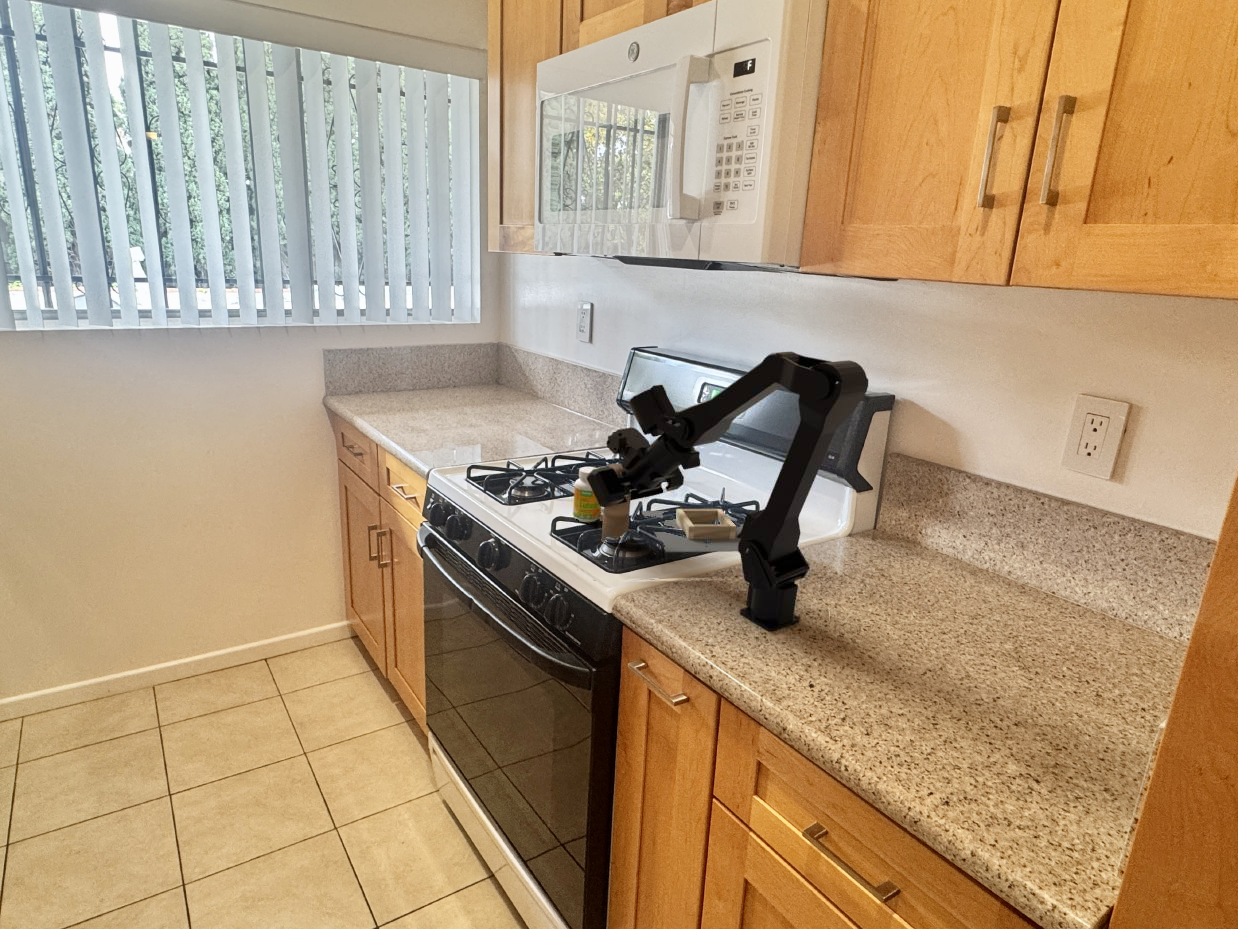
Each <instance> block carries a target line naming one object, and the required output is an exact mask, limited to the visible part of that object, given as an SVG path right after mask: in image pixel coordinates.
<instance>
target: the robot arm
mask: <svg viewBox="0 0 1238 929" xmlns="http://www.w3.org/2000/svg"><path fill="white" fill-rule="evenodd" d="M781 387H783V388H785V389H786V390H787V391H789V392H792V393H794V394H798V400H797V404H798V410H799V417H800V418H799V424H798V426H797V428H796V430H795V433H794V435H793V438H792V440H791V443H790V446H789V448H788V451H787V453H786V456H785V458H784V461H783V464H782V465H781V468H780V471H779V473H778V475H777V478H776V480H775V483H774V486H773V487H772V490H771V493H770V496H769V498H768V500H767V502H766V506H765V507H764V509H760V510H757V511H754V512H750V513H747V514H746V515H745V518H744V524H743V528H742V530H741V532H740V533H739V534H738V535H737V538H741V539H740V541H739V544H738V551H737V552H738V553H739V554H740V561H741V566H742V572H743V573H742V574H743V577H744V581H745V582H746V583H748V589H747V596H746V603H745V606H746V607H743V608H741V609H740V610H739V614H740V615H741V616H744V617H745V618H747V619H748V620H750V621H752V622H754V623H755V624H757V625H758V626H760V627H762V628H763V629H765V630H767V631H769V632H774V631H777V630H779V629H782V628H785V627H788V626H791V625H793V624H797V623H799V622H800V621H801V618H800V617H799V616H798V615H796V614H795V608H796V602H797V596H798V590H799V585H798V584H797V583H796V582H795V581H799V580H800V579H805V578H806V576H807V574H808V572H809V571H810V570H811V569H810V565H809V563H808V562H807V560H806V558H805V556H804V554H803V552H802V551H801V549H800V548H799V546H798V545H799V542H800V538H801V537H800V536H801V527H800V520H799V518H800V515H801V512H802V510H803V507H804V505H805V503H806V500H807V498H808V496H809V494H810V491H811V489H812V486H813V484H814V482H815V479H816V477H817V475H818V474H819V473H818V472H819V469H820V468H821V466H822V462H823V461H824V459H825V456H826V454H827V452H828V448H829V446H830V444H831V442H832V440H833V438H834V435H835V433H836V432H837V430H838V429H839V428H840V426H841V425H842V424H843V423H844V422H845V421H846V420H847V419H848V418H849V417H850V416H851V415H852V414H853V413H854V412H855V411H856V409H857V407H858V406H859V404H860V402H861V401H862V400H863V398H864V396H866V393H867V391H868V388H869V378H868V377H867V374H866V371H865V369H864V368H863V367H862V366H861V365H860V364H859V363H857V362H856V361H854V360H853V361H852V360H850V359H849V360H838V361H837V360H836V361H831V360H826V359H822V358H815V357H811V356H810V357H809V356H805V355H803V354H799V353H796V352H794V351H781V352H771V353H769V354H767V356H765V357H764V359H763V360H762V361H761V362H759V364H757V365H756V366H754V367H753V368H751V369H750V370H749V371H747V372H746V373H745V374H743V375H742V376H740V377H739V378H738V379H736V380H735V381H734V382H732V383H731V384H729V385H728V386H727V387H725V388H724V389H723V390H722V391H720V392H719V393H717V394H716V395H715V396H713V397H712V398H710V399H707V400H704V401H702V402H698V403H696V404H692V405H690V406H688V407H686V408H684V409H681V410H679V411H676V409H675V408H674V405H673V404H672V403H671V401H670V398H669V396H668V393H667V392H666V389H665V387H664V385H663V384H655V385H652V386H651V387H650V388H648V389H646V390H644V391H642V392H640V393H638V394H637V395H634V396H633V397H631V399H629V402H628V406H629V408H630V409H631V412H632V414H633V416H634V417H635V419H636V422H637V423H638V425H639V427H640V429H641V431H642V433H643V434H642V433H641V432H640V431H639V429H637V428H635V427H627V428H620V429H617V430H616V431H613V432H611V434H610V435H608V436H607V440H606V447H607V448H608V450H610V452H612V454H613V455H619V456H620V458H622V459H623V460H622V461H620V464H622V466H623V468H624V469H626V470H627V471H624V472H621V473H620V474H621V476H622V478H618V476H617V474H616V472H615V470H614V468H611V467H609V465H608V466H602V467H599V468H598V467H597V468H598V469H593V470H592V471H591V472H590V473H589V474H588V475H587V480H588V482H589V484H590V487H591V489H592V491H593V493H594V495H595V497H596V499H597V501H598V503H599V505H600V506H602V507H601V508H603V509H604V507H608V506H612V505H618V504H622V503H626V502H627V500H626V497H625V496H627V495H629V493H630V491H631V500H630V502H631V501H635V500H639V499H643V498H649V497H654V496H658V495H662V494H663V493H664V489H663V487H662V484H663V482H662V481H663V480H665V481H666V483H667V485H666V486H665V489H666V492H672V491H676V490H678V489H680V488H681V487H682V486H683V485H684V481H685V477H684V474H683V472H682V470H681V469H680V466H681V468H682V469H683V470H690V469H694V468H699V467H700V466H701V458H700V451H697V450H696V449H695V447H698V446H703V445H704V446H705V445H709V444H712V443H713V444H714V443H716V442H718V440H720V439H721V438H722V437H723V436H724V435H725V433H726V432H728V431H729V429H730V428H731V424H732V423H733V421H734V420H735V419H736V418H737V417H739V416H741V414H743V413H745V412H747V410H749V409H750V408H752V407H754V406H756V405H757V404H758V403H759V402H761V401H762V400H764V399H765V398H766V397H768V396H770V395H772V394H773V393H774V392H775V391H777V390H778V389H780V388H781ZM644 435H651V436H652V437H656V439H655V440H654V441H653V442H652V443H651V444H650V441H649V440H648V439H647V437H645V436H644ZM625 486H626V487H625Z"/></svg>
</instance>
